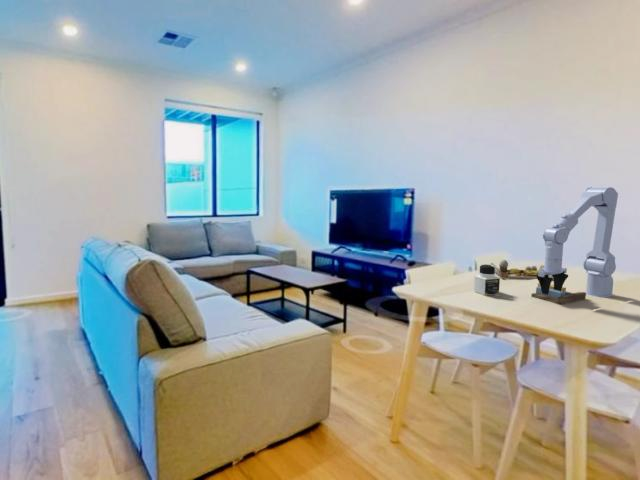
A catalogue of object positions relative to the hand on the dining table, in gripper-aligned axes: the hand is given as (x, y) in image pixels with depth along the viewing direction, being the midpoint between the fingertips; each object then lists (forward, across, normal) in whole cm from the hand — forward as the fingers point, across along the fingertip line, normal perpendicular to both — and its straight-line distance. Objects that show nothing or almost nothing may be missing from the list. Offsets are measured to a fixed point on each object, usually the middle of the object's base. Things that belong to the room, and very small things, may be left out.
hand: (551, 292), depth 154 cm
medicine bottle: (+3, +13, -19) cm, 24 cm away
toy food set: (+4, -28, -34) cm, 44 cm away
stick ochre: (+2, -7, -5) cm, 9 cm away
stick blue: (+2, 0, 0) cm, 2 cm away
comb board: (+3, -4, +1) cm, 5 cm away
